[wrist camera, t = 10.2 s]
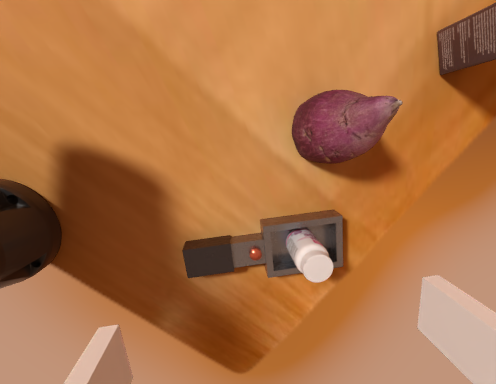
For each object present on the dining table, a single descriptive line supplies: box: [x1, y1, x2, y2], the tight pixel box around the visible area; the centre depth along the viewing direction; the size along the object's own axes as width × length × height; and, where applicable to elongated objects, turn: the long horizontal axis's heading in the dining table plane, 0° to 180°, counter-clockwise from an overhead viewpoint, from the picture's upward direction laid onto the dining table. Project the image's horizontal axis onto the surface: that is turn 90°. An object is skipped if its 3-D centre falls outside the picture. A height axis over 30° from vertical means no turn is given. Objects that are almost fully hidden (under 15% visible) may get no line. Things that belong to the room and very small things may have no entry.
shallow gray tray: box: [183, 210, 343, 278], centre depth 38 cm, size 24×8×3 cm, turn 96°
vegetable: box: [292, 90, 402, 163], centre depth 30 cm, size 10×10×15 cm
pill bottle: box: [286, 228, 333, 282], centre depth 35 cm, size 5×5×8 cm
